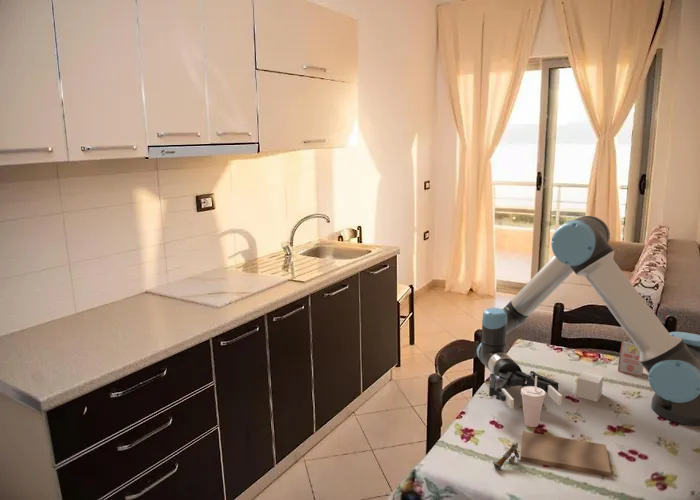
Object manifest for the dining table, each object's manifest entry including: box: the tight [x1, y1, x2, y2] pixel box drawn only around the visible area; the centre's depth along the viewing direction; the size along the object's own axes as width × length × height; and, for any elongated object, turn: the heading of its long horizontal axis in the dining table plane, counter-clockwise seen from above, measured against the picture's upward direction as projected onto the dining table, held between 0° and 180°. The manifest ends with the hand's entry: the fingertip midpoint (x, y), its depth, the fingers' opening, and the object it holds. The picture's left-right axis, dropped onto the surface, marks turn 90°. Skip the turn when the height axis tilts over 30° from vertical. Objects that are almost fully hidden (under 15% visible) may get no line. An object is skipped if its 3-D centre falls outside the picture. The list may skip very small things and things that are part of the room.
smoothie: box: [520, 376, 546, 428], centre depth 148 cm, size 6×6×14 cm
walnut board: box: [519, 431, 612, 478], centre depth 134 cm, size 20×12×1 cm, turn 70°
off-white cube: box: [575, 371, 604, 403], centre depth 164 cm, size 6×6×6 cm
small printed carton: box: [617, 341, 644, 377], centre depth 179 cm, size 4×7×10 cm, turn 51°
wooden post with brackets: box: [492, 442, 520, 471], centre depth 131 cm, size 2×8×4 cm, turn 125°
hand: (536, 402), depth 145 cm, fingers open, 13 cm apart
